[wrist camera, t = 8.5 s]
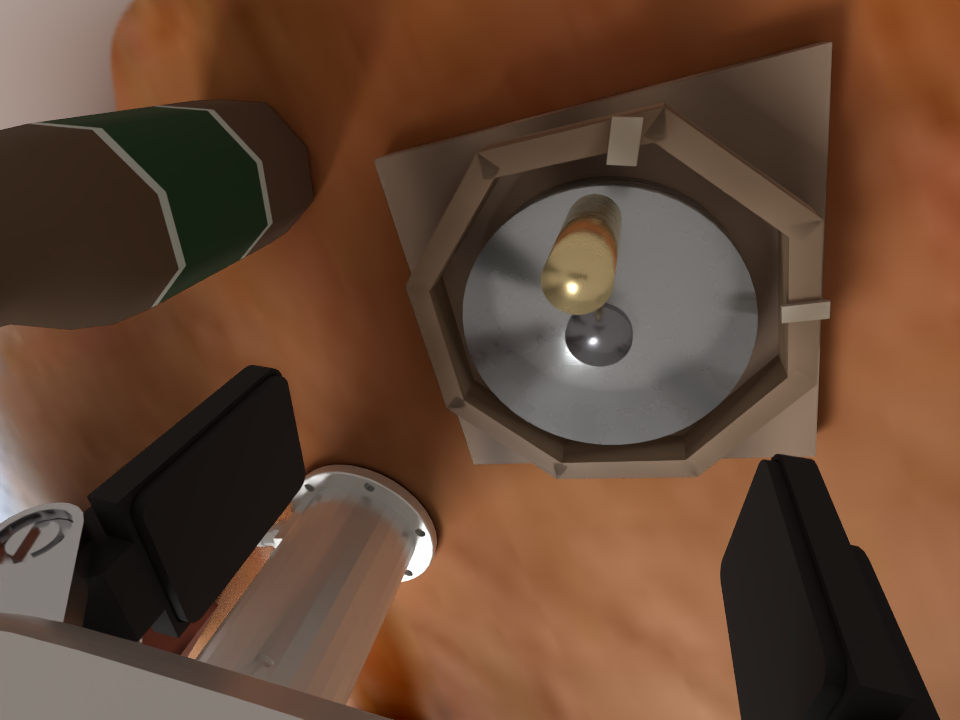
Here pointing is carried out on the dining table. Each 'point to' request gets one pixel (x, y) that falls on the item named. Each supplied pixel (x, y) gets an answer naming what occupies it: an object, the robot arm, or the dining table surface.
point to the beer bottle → (139, 206)
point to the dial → (610, 311)
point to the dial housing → (670, 162)
